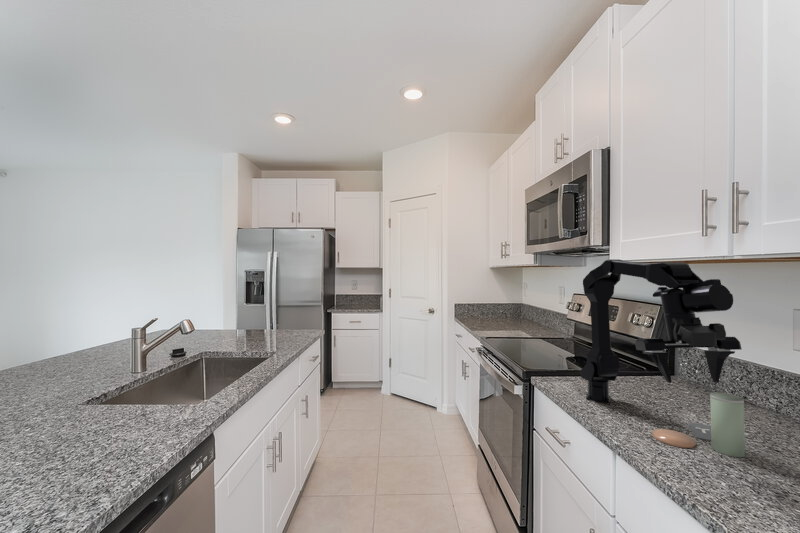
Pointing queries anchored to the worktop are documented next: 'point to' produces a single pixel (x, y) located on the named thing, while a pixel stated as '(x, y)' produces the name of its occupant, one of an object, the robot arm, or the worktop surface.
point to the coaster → (674, 438)
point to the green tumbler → (727, 424)
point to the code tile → (701, 431)
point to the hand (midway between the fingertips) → (692, 382)
